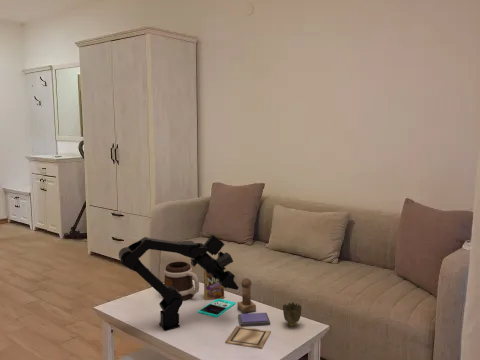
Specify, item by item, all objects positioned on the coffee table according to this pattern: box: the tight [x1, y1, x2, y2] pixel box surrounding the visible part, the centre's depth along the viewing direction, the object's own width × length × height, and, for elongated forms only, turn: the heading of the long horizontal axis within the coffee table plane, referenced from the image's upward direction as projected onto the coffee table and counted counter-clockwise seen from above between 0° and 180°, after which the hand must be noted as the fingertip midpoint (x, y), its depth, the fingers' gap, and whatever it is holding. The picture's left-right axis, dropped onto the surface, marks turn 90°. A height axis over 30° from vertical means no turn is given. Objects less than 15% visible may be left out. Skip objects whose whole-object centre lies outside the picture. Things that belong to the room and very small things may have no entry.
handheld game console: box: [197, 298, 237, 318], centre depth 187 cm, size 10×16×1 cm, turn 150°
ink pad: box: [237, 312, 271, 328], centre depth 174 cm, size 12×9×2 cm
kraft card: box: [224, 325, 272, 350], centre depth 160 cm, size 14×13×1 cm
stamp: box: [236, 278, 257, 314], centre depth 183 cm, size 6×6×14 cm
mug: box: [163, 261, 200, 301], centre depth 199 cm, size 20×15×15 cm
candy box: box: [203, 269, 225, 301], centre depth 197 cm, size 9×4×15 cm, turn 103°
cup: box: [282, 302, 303, 328], centre depth 169 cm, size 8×7×8 cm
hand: (233, 285), depth 180 cm, fingers open, 9 cm apart
